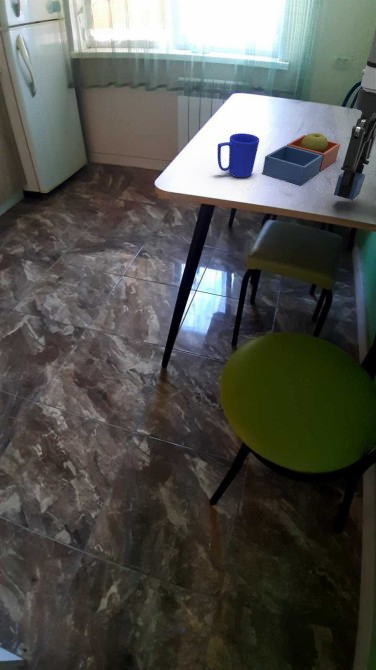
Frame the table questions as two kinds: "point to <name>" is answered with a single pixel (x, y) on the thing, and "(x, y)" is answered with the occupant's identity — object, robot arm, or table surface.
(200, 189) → the table surface
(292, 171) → the blue bin
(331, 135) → the table surface
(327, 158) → the red bin
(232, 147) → the mug
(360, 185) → the block
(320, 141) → the apple
